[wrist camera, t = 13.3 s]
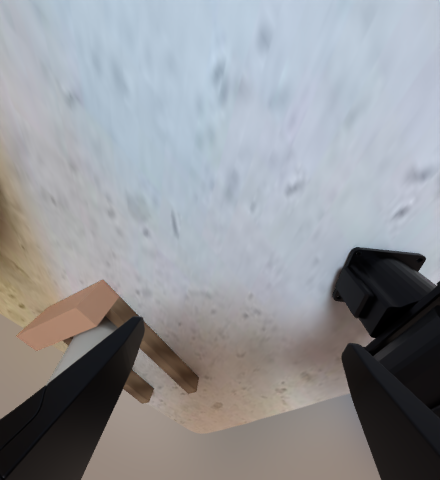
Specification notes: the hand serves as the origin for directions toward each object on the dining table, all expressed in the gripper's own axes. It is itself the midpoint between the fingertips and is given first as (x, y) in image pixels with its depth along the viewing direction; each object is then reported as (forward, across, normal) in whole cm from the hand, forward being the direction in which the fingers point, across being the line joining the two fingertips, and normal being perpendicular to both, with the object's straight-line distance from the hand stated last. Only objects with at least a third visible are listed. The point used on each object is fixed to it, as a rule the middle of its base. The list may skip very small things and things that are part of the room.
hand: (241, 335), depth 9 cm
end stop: (+12, +20, +13) cm, 26 cm away
